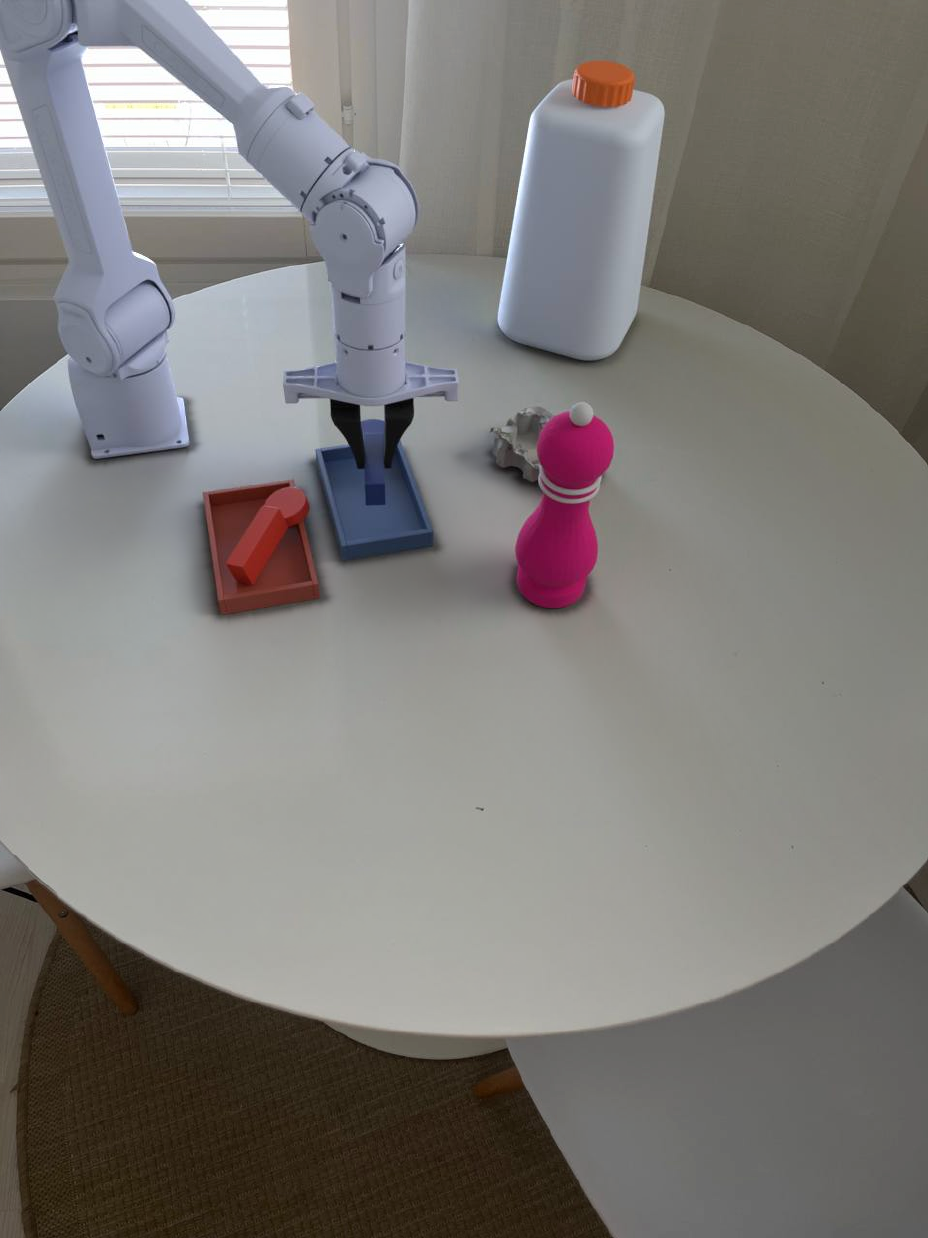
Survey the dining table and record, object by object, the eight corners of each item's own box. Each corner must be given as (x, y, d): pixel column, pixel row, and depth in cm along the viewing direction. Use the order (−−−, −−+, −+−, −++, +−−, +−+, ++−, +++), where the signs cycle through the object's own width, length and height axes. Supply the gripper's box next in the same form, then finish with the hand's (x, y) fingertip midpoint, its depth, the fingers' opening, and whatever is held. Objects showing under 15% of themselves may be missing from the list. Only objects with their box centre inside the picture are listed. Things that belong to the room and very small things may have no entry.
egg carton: (482, 458, 94) (484, 426, 91) (525, 425, 98) (529, 393, 95) (566, 506, 90) (571, 474, 87) (607, 469, 94) (614, 437, 91)
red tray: (221, 615, 79) (218, 600, 77) (205, 506, 87) (202, 491, 86) (320, 598, 81) (318, 583, 79) (295, 493, 89) (293, 478, 88)
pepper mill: (584, 620, 80) (627, 442, 65) (504, 605, 81) (528, 426, 66) (593, 562, 85) (635, 384, 70) (517, 548, 86) (542, 369, 70)
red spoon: (263, 587, 80) (253, 569, 78) (225, 579, 81) (214, 561, 79) (316, 499, 85) (308, 479, 83) (280, 492, 87) (271, 473, 84)
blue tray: (342, 561, 84) (341, 546, 82) (316, 463, 92) (315, 448, 91) (433, 546, 85) (433, 531, 84) (399, 451, 94) (399, 436, 92)
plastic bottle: (642, 308, 114) (697, 60, 92) (608, 373, 104) (660, 114, 83) (529, 278, 117) (557, 32, 95) (486, 339, 108) (506, 81, 86)
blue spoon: (397, 505, 82) (397, 483, 80) (353, 506, 81) (352, 484, 79) (393, 428, 89) (393, 406, 87) (352, 428, 88) (350, 407, 86)
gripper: (456, 302, 76) (450, 432, 86) (279, 302, 74) (295, 434, 85) (463, 351, 71) (456, 482, 82) (276, 353, 70) (292, 485, 80)
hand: (374, 461), depth 83 cm, fingers closed on blue spoon, 2 cm apart
